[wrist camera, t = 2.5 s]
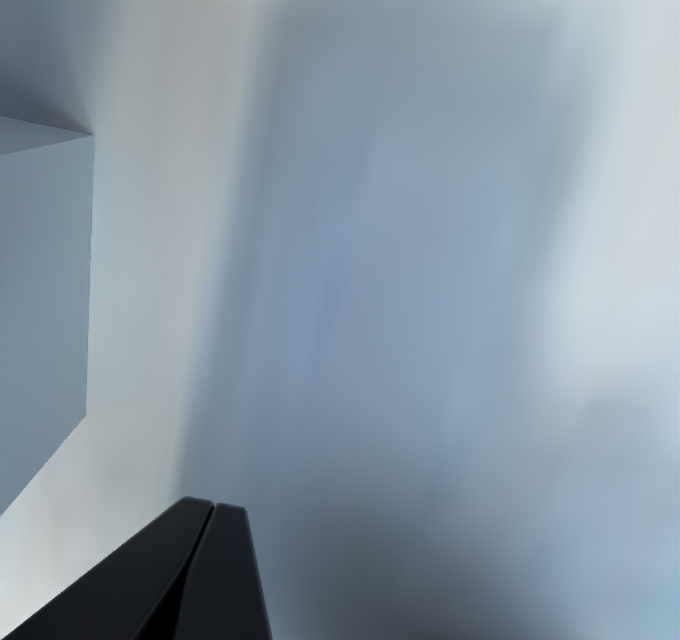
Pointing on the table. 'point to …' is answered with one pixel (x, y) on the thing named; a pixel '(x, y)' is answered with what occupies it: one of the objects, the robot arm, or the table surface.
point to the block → (42, 293)
